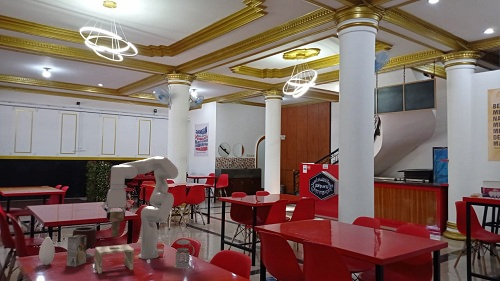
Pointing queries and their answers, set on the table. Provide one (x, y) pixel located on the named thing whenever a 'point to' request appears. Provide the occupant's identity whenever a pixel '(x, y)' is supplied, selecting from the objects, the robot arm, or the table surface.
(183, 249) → the french press
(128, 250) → the stand
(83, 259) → the coffee box
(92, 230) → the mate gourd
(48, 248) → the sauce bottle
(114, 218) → the hanger peg
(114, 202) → the robot arm
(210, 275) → the table surface
